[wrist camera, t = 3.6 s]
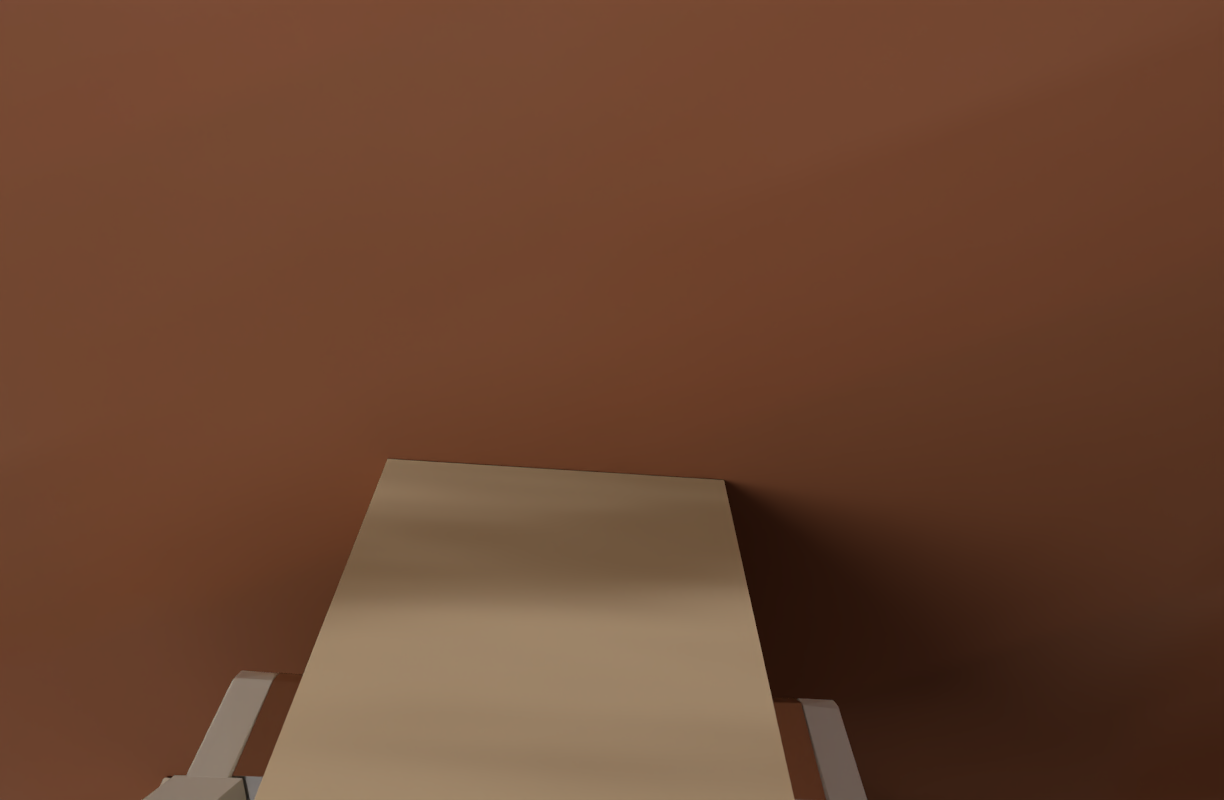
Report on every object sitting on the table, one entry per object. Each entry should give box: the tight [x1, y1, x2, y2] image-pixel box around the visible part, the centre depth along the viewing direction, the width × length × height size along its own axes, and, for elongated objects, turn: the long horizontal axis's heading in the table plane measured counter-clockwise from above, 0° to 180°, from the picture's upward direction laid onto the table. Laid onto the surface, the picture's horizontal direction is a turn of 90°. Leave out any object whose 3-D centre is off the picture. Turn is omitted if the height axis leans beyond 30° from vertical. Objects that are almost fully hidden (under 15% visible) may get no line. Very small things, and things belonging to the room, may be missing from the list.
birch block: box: [254, 459, 794, 800], centre depth 11 cm, size 5×5×6 cm
